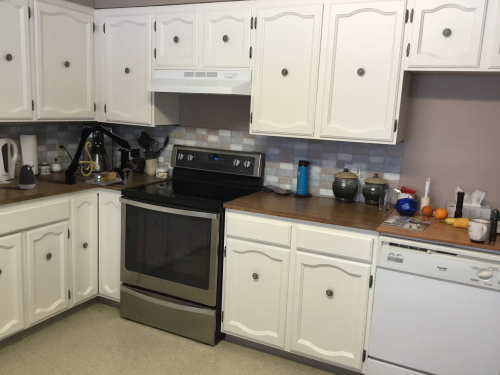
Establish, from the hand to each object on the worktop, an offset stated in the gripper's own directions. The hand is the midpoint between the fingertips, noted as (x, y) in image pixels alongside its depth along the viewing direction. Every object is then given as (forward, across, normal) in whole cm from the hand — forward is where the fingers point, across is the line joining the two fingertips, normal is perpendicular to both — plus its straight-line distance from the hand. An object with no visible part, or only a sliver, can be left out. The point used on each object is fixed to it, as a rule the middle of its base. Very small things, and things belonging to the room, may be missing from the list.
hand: (124, 180), depth 313 cm
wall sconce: (+3, +14, +42) cm, 44 cm away
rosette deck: (+2, 0, +16) cm, 16 cm away
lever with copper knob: (+2, 0, 0) cm, 2 cm away
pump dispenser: (+3, -47, +38) cm, 60 cm away
